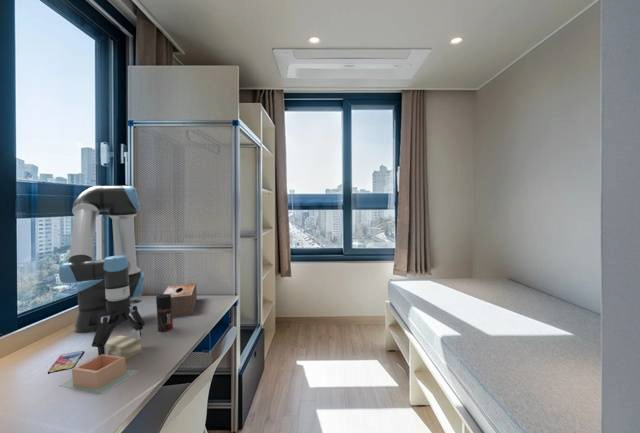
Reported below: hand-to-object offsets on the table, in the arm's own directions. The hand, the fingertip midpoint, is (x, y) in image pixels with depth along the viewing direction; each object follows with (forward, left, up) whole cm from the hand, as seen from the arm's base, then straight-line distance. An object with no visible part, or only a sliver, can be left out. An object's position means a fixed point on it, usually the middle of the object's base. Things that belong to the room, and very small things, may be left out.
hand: (121, 354), depth 120 cm
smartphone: (-15, -9, -1) cm, 18 cm away
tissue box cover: (-16, +50, -1) cm, 53 cm away
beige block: (0, 0, 0) cm, 0 cm away
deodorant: (-2, +24, 0) cm, 24 cm away
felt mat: (+8, -15, 0) cm, 17 cm away
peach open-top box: (+8, -15, 0) cm, 17 cm away
